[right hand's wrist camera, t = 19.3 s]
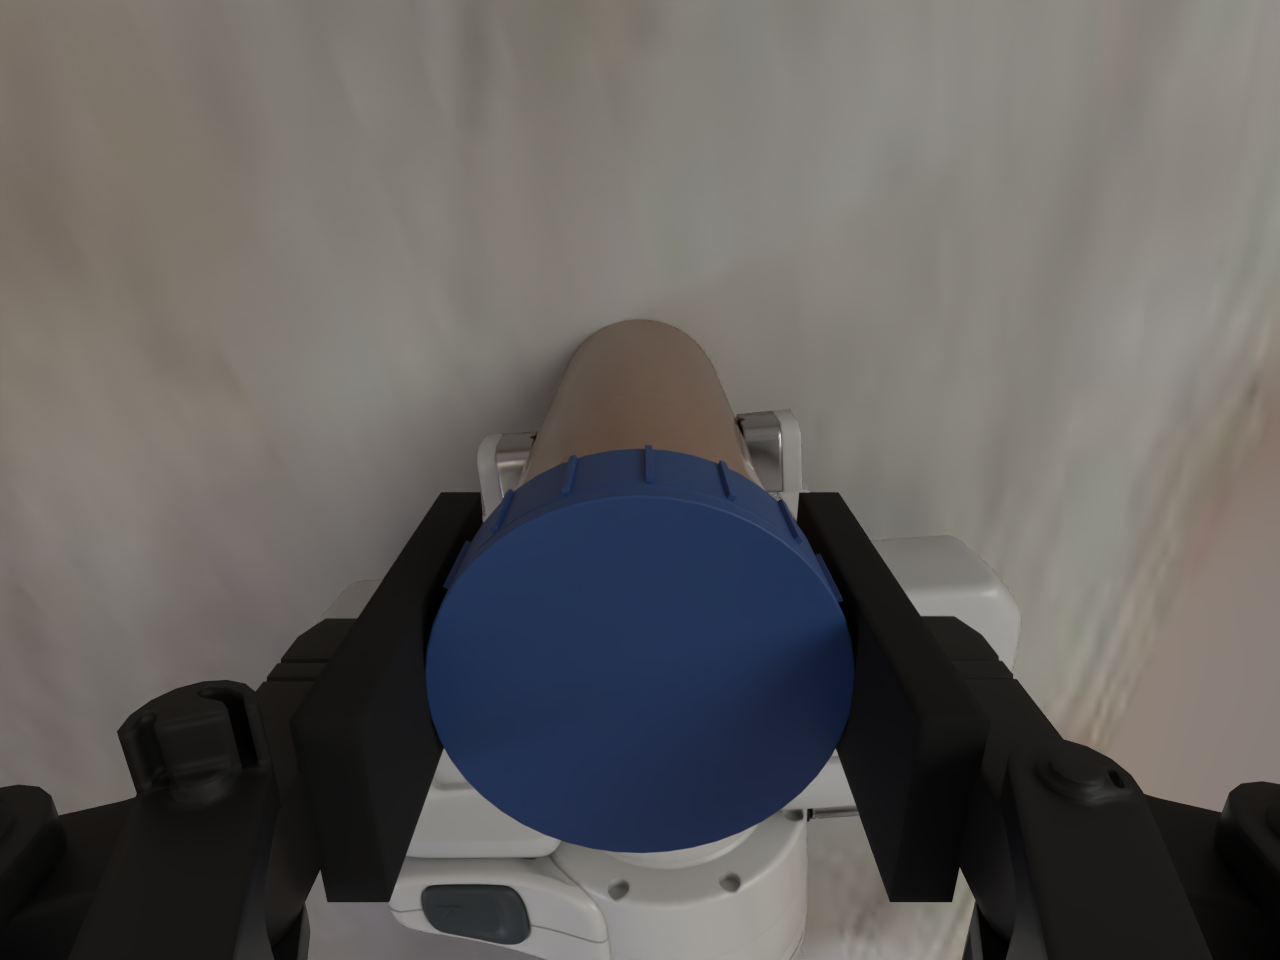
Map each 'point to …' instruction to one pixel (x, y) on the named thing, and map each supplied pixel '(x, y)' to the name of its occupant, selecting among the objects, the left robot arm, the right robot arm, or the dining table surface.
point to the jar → (639, 402)
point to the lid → (639, 654)
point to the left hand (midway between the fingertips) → (635, 427)
